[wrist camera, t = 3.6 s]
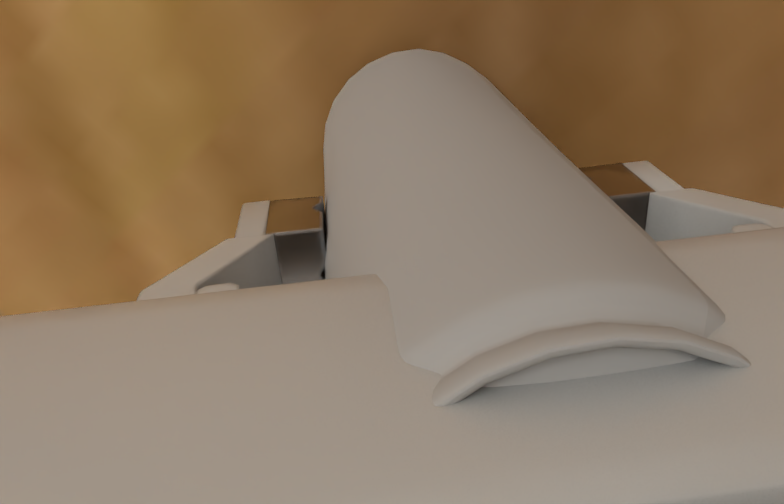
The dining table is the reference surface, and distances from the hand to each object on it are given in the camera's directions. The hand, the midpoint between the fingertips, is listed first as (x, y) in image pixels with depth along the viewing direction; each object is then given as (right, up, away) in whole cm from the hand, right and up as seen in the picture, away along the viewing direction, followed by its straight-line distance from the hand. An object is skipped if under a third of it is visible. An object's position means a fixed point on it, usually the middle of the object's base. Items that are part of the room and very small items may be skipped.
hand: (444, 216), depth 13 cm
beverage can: (-1, +2, +4) cm, 5 cm away
